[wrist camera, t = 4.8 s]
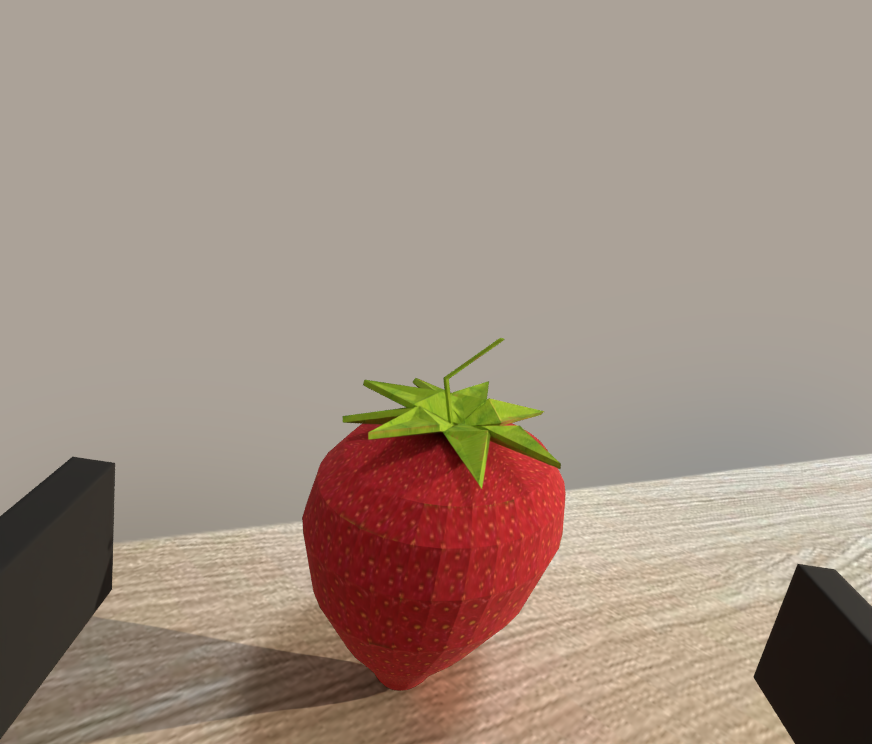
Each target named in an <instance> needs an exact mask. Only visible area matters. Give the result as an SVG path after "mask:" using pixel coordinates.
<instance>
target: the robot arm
mask: <svg viewBox="0 0 872 744" xmlns="http://www.w3.org/2000/svg"><path fill="white" fill-rule="evenodd" d="M114 486H115V463H111V462H104V461H98V460H90V459H84V458H77V457H72V458H70V459H69V460H68V461H67V462H66V463H65V464H63V465H62V466H61V467H60V468H58V469H57V470H56V471H55V472H54V473H52V474H51V475H50V476H49V477H47V478H46V479H45V480H44V481H43V482H42V483H40V484H39V485H38V486H37V487H35V488H34V489H33V490H32V491H31V492H29V493H28V494H27V495H26V496H25V497H23V498H22V499H21V500H20V501H18V502H17V503H16V504H15V505H14V506H13V507H11V508H10V509H9V510H7V511H6V512H5V513H4V514H3V515H1V516H0V739H1V738H2V736H3V735H4V734H5V732H6V731H7V730H8V728H9V727H10V726H11V724H12V723H13V722H14V720H15V719H16V718H17V716H18V715H19V714H20V712H21V711H22V710H23V708H24V707H25V706H26V704H27V703H28V701H29V700H30V699H31V697H32V696H33V695H34V693H35V692H36V691H37V689H38V688H39V687H40V685H41V684H42V683H43V681H44V680H45V679H46V677H47V676H48V675H49V673H50V672H51V671H52V669H53V668H54V667H55V665H56V664H57V663H58V661H59V660H60V658H61V657H62V656H63V654H64V653H65V652H66V650H67V649H68V648H69V646H70V645H71V644H72V642H73V641H74V640H75V638H76V637H77V636H78V634H79V633H80V632H81V630H82V629H83V628H84V626H85V625H86V624H87V622H88V621H89V620H90V618H91V617H92V616H93V614H94V613H95V611H96V610H97V609H98V607H99V606H100V605H101V603H102V602H103V601H104V599H105V598H106V597H107V595H108V594H109V593H110V591H111V590H112V567H113V526H114V525H113V524H114ZM754 679H755V680H756V682H757V684H758V685H759V687H760V688H761V690H762V692H763V693H764V695H765V696H766V698H767V700H768V701H769V703H770V704H771V706H772V708H773V709H774V711H775V712H776V714H777V716H778V717H779V719H780V720H781V722H782V723H783V725H784V727H785V728H786V730H787V731H788V733H789V735H790V736H791V738H792V739H793V741H794V743H795V744H872V606H871V605H870V604H869V603H868V602H867V601H866V600H865V599H864V598H863V597H862V596H861V595H860V594H859V593H858V592H857V591H856V590H855V589H854V588H853V587H852V586H851V585H850V584H849V583H848V582H847V581H846V580H845V579H844V578H843V577H842V576H841V575H840V574H839V573H838V572H837V571H836V570H835V569H828V568H822V567H815V566H808V565H801V564H797V567H796V570H795V572H794V575H793V577H792V580H791V582H790V585H789V587H788V590H787V593H786V595H785V598H784V600H783V603H782V605H781V608H780V610H779V613H778V616H777V618H776V621H775V623H774V626H773V628H772V631H771V633H770V636H769V639H768V641H767V644H766V646H765V649H764V651H763V654H762V656H761V659H760V662H759V664H758V667H757V669H756V672H755V674H754Z"/></svg>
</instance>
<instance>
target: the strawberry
mask: <svg viewBox="0 0 872 744" xmlns="http://www.w3.org/2000/svg"><path fill="white" fill-rule="evenodd" d="M503 340H504V339H503V338H500V339H498V340H496V341H495V342H494V343H492V344H491V345H489V346H488V347H486V348H485V349H484V350H482V351H481V352H480V353H478V354H477V355H475V356H474V357H472V358H471V359H470V360H468V361H467V362H465V363H464V364H463V365H461V366H460V367H458V368H457V369H455V370H454V371H453V372H451V373H450V374H448V375H447V376H445V377H444V388H445V390H443V389H441V388H439V387H436V386H434V385H431V384H429V383H427V382H424V381H422V380H420V379H417V378H415V379H414V381H413V383H414V384H415V385H416V386H417V387H418V388H416V387H409V386H402V385H397V384H389V383H383V382H377V381H370V380H364V384H363V385H364V386H366V387H367V388H369V389H371V390H374V391H375V392H377V393H379V394H381V395H383V396H385V397H387V398H389V399H391V400H393V401H395V402H397V403H399V404H401V405H403V406H405V407H407V408H400V409H393V410H385V411H378V412H371V413H363V414H355V415H349V416H343V422H344V423H363V424H361V425H360V426H359V427H357V428H356V429H355V430H354V431H352V432H351V433H350V434H349V435H348V436H347V437H346V438H344V439H343V440H342V441H341V442H340V443H339V444H337V445H336V446H335V447H334V448H333V449H332V450H331V451H330V452H328V454H327V455H326V457H325V458H324V459H323V461H322V462H321V464H320V467H319V469H318V472H317V475H316V478H315V481H314V484H313V487H312V490H311V492H310V495H309V498H308V501H307V504H306V507H305V511H304V514H303V517H302V520H303V534H304V540H305V546H306V551H307V557H308V563H309V569H310V574H311V580H312V586H313V592H314V594H315V597H316V599H317V601H318V604H319V606H320V608H321V609H322V611H323V612H324V614H325V615H326V617H327V618H328V620H329V621H330V623H331V624H332V626H333V627H334V629H335V630H336V632H337V633H338V635H339V636H340V638H341V639H342V641H343V642H344V644H345V645H346V646H347V648H348V649H349V650H350V652H351V653H352V654H353V655H354V657H355V658H356V659H358V660H359V661H360V662H361V663H363V664H364V665H365V666H366V667H368V668H369V669H370V670H371V671H372V672H373V673H374V674H375V675H376V677H377V678H378V680H379V681H380V682H381V683H382V684H383V685H384V686H386V687H388V688H390V689H393V690H399V691H401V690H408V689H411V688H413V687H415V686H417V685H418V684H420V683H421V682H423V681H424V680H425V679H426V678H427V677H428V676H430V675H432V674H434V673H437V672H439V671H441V670H443V669H445V668H447V667H450V666H451V665H453V664H455V663H456V662H458V661H459V660H461V659H462V658H464V657H465V656H466V655H468V654H469V653H470V652H472V651H473V650H474V649H476V648H477V647H478V646H480V645H481V644H482V643H484V642H485V641H486V640H488V639H489V638H490V637H492V636H493V635H494V634H496V633H497V632H498V631H500V630H501V629H503V628H504V627H505V626H506V625H507V624H508V623H509V622H510V621H511V620H512V619H513V618H514V617H515V616H516V615H517V614H519V612H520V610H521V609H522V607H523V605H524V604H525V602H526V601H527V599H528V597H529V596H530V594H531V592H532V591H533V589H534V588H535V586H536V584H537V583H538V581H539V580H540V578H541V576H542V575H543V573H544V571H545V570H546V568H547V567H548V565H549V563H550V562H551V560H552V558H553V557H554V555H555V554H556V552H557V550H558V549H559V546H560V542H561V537H562V533H563V520H564V507H565V486H564V481H563V479H562V476H561V474H560V473H559V470H558V469H560V468H561V467H560V466H561V464H560V463H559V462H558V461H557V460H556V459H555V458H554V457H553V456H552V455H551V454H550V453H549V452H548V451H547V449H546V448H545V447H544V446H543V444H542V443H541V442H540V441H539V440H538V439H537V438H536V437H534V436H533V435H532V434H530V433H529V432H527V431H526V430H524V429H522V427H521V426H517V425H514V424H512V423H513V422H517V421H520V420H524V419H528V418H531V417H535V416H538V415H541V414H542V413H543V412H544V411H540V410H536V409H532V408H527V407H523V406H518V405H515V404H510V403H506V402H502V401H498V400H494V399H490V398H489V399H487V393H488V385H489V382H485V383H482V384H479V385H475V386H472V387H469V388H465V389H462V390H459V391H456V392H453V393H450V387H449V378H451V377H452V376H454V375H455V374H456V373H458V372H459V371H460V370H462V369H464V368H465V367H466V366H468V365H469V364H471V363H472V362H473V361H475V360H476V359H478V358H479V357H480V356H482V355H483V354H485V353H486V352H488V351H489V350H491V349H492V348H493V347H495V346H496V345H498V344H499V343H501V342H502V341H503Z"/></svg>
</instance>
